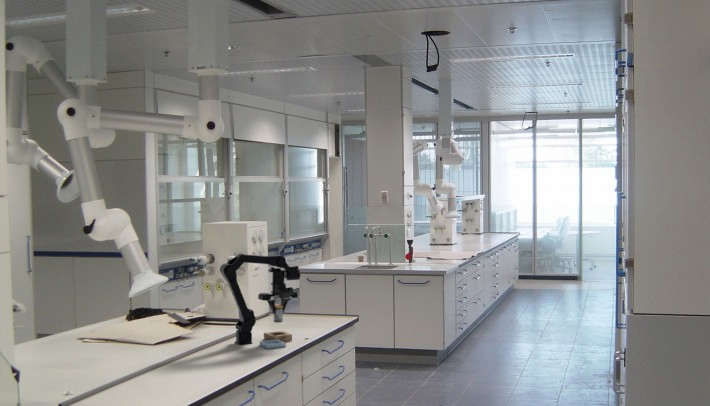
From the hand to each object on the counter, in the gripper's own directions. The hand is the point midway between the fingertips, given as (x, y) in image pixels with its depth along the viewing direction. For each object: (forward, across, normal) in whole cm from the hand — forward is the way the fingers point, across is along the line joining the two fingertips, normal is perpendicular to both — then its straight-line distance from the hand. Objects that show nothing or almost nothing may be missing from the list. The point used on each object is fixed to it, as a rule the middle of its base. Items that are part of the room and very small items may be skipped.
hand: (278, 313), depth 352 cm
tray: (+13, -8, -10) cm, 18 cm away
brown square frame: (+13, 0, 0) cm, 13 cm away
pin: (+4, 0, 0) cm, 4 cm away
